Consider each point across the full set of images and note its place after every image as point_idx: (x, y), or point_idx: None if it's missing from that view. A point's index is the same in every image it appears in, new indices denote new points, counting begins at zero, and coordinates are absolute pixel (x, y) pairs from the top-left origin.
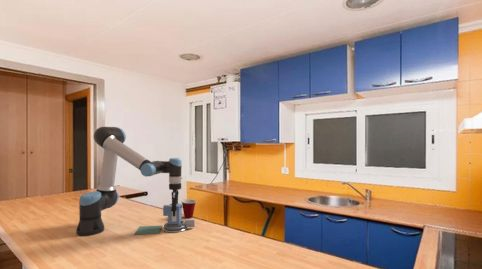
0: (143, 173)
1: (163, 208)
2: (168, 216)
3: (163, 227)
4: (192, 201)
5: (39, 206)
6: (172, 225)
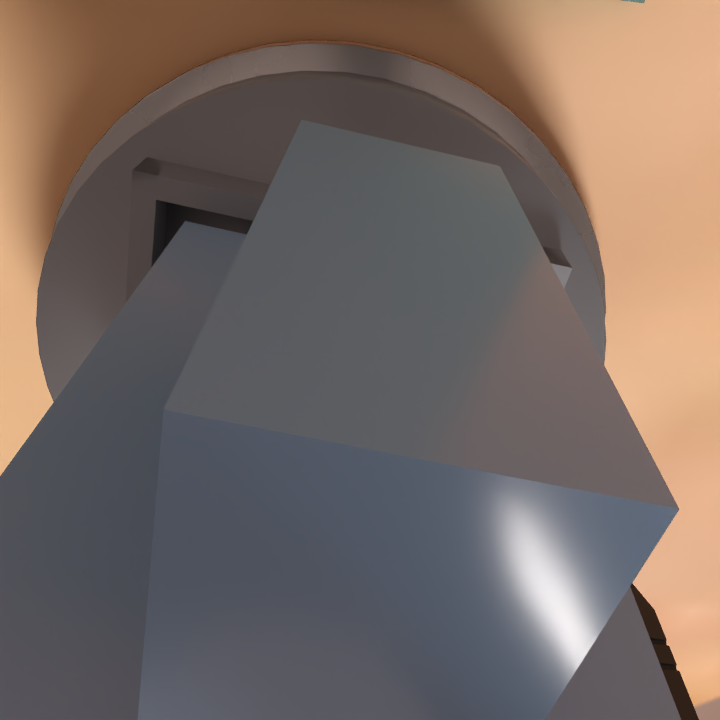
0: None
1: (225, 303)
2: (100, 359)
3: (396, 55)
4: None
5: None
6: None
